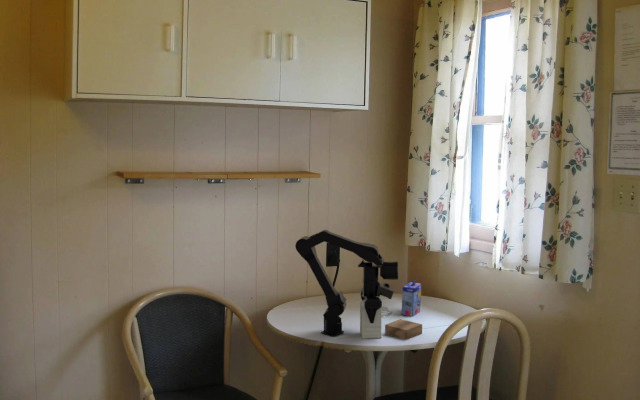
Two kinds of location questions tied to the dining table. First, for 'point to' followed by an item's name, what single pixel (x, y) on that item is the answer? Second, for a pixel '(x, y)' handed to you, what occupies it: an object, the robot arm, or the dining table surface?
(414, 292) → the ink cartridge box
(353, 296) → the dining table surface
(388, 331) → the walnut block
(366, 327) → the supplement box
